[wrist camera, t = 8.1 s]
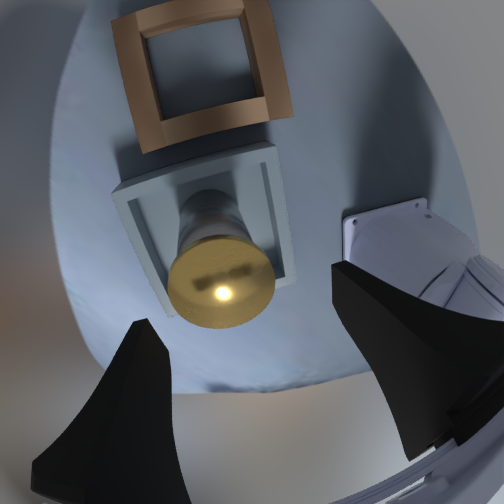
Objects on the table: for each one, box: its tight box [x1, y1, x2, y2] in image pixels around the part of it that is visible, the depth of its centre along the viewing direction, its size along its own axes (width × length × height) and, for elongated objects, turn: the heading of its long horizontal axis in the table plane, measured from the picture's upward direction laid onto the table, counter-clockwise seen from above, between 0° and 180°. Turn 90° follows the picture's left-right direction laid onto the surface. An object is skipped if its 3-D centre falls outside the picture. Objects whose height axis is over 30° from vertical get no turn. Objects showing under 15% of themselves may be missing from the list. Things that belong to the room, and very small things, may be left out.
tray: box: [111, 141, 297, 317], centre depth 18 cm, size 10×10×2 cm
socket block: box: [111, 0, 294, 154], centre depth 13 cm, size 9×9×2 cm
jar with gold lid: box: [167, 189, 276, 329], centre depth 15 cm, size 5×5×8 cm
